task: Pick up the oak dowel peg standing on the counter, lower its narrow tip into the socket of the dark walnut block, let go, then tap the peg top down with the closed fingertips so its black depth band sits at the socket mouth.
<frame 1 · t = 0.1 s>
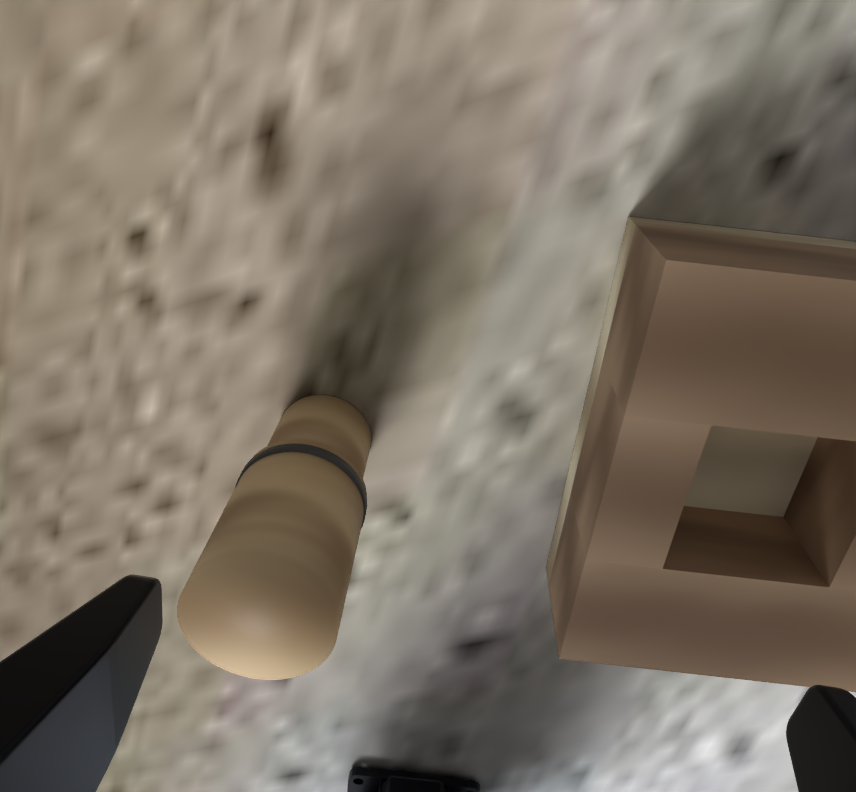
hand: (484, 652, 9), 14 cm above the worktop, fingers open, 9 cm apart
oak peg: (325, 436, 25), on the worktop
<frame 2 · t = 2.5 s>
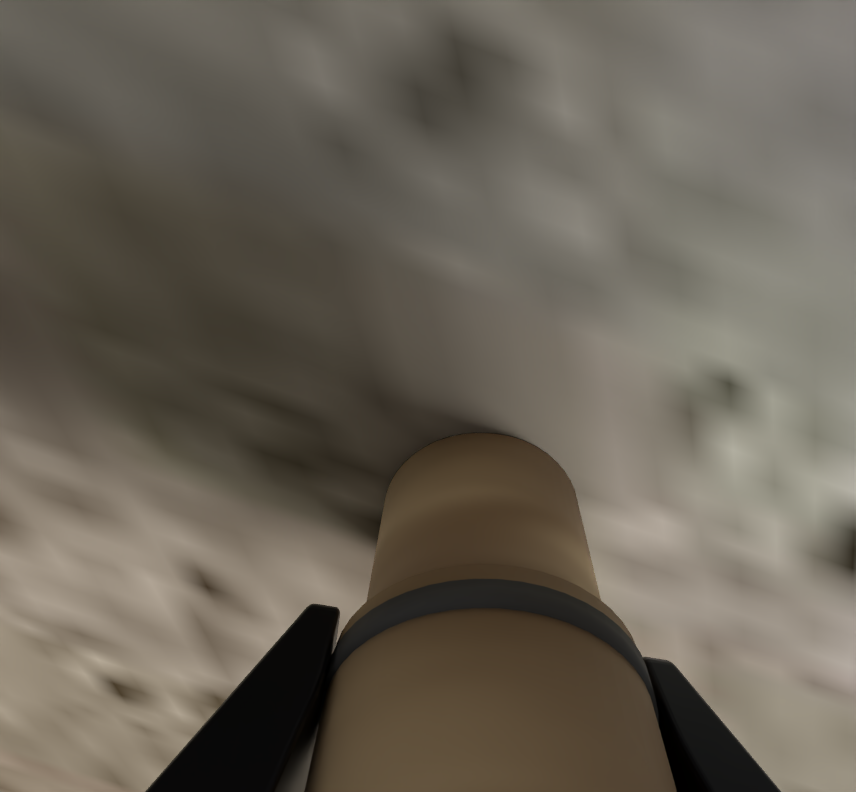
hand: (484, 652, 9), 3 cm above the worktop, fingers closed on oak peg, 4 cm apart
oak peg: (480, 515, 12), on the worktop, touching gripper
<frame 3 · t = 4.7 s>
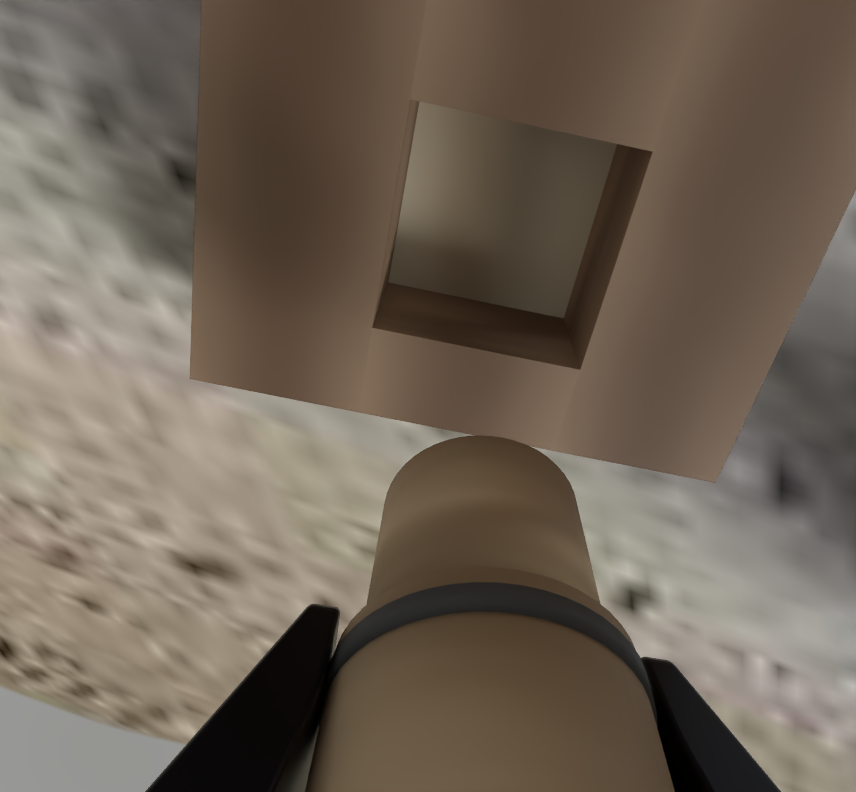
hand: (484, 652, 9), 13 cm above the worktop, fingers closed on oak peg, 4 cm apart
oak peg: (479, 518, 12), point 10 cm above the worktop, touching gripper
walnut socket block: (543, 5, 17), on the worktop
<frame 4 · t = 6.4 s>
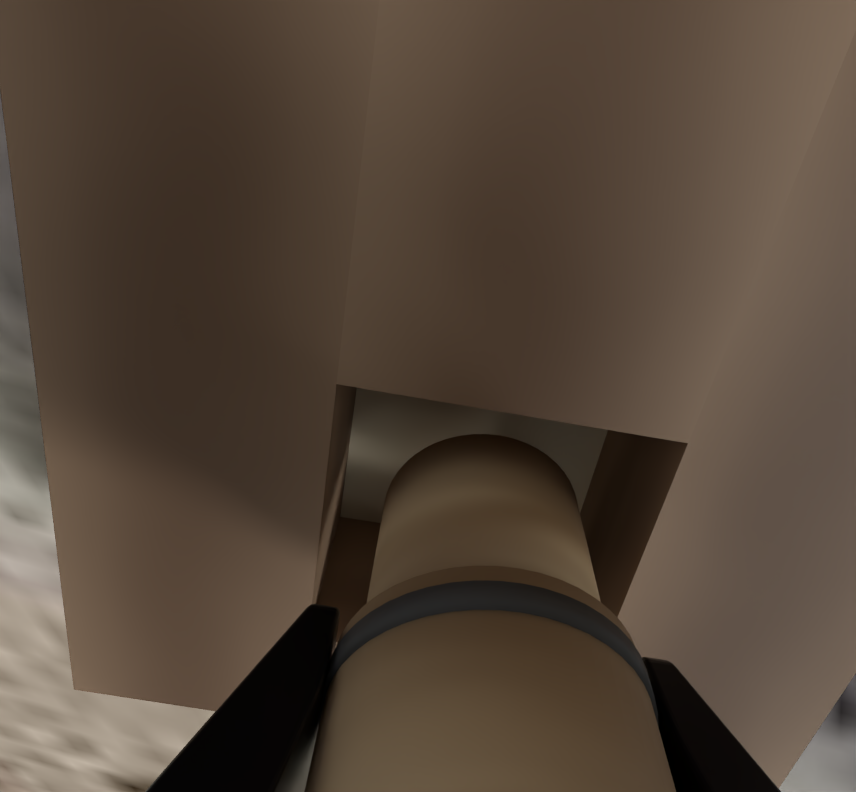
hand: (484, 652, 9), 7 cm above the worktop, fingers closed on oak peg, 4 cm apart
oak peg: (480, 516, 12), point 4 cm above the worktop, touching gripper
walnut socket block: (527, 186, 13), on the worktop
when the fingers open (5 cm above the worktop, at t = 7.5 s): oak peg drops 1 cm, resting on walnut socket block.
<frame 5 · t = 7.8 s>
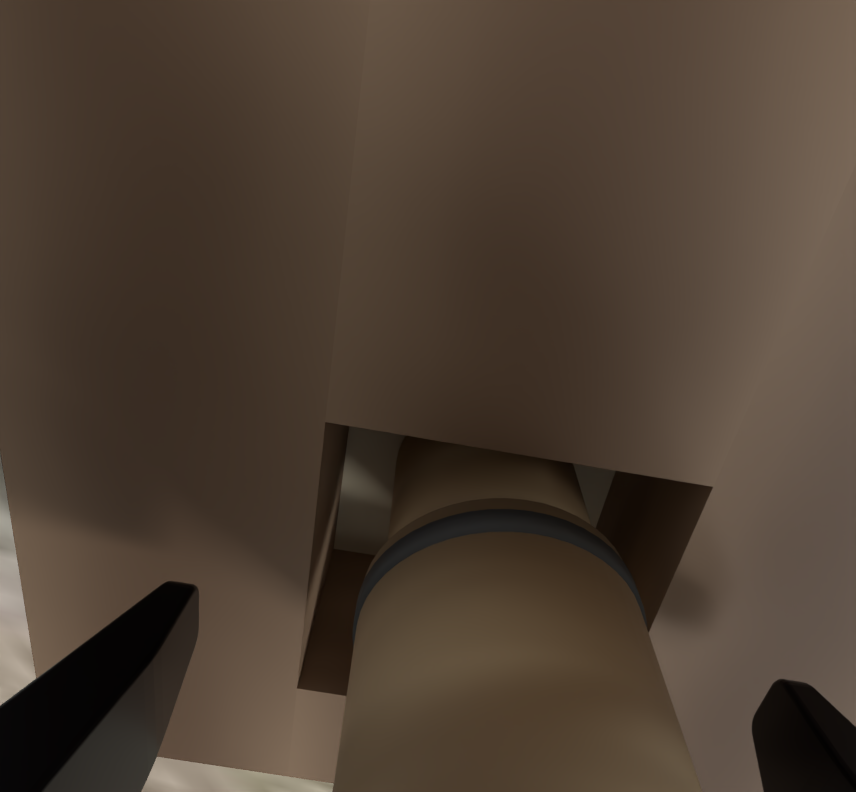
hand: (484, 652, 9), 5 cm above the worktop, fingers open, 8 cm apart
oak peg: (483, 472, 13), point 1 cm above the worktop, touching walnut socket block
walnut socket block: (534, 199, 12), on the worktop
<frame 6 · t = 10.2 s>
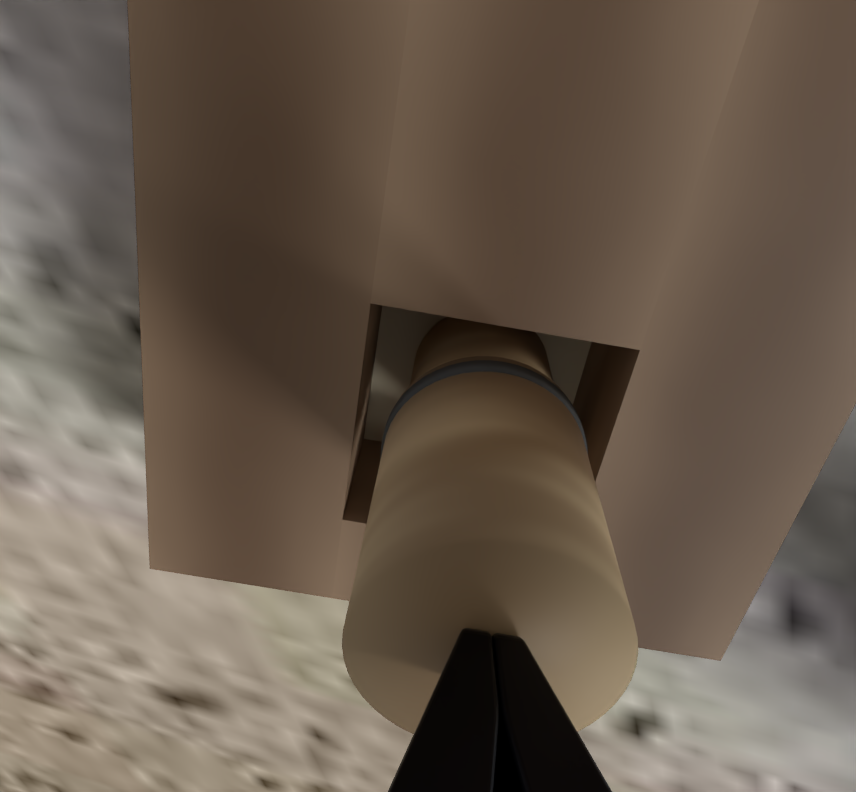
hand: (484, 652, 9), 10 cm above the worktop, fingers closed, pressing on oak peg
oak peg: (480, 371, 17), point 1 cm above the worktop, touching gripper, walnut socket block
walnut socket block: (519, 158, 16), on the worktop
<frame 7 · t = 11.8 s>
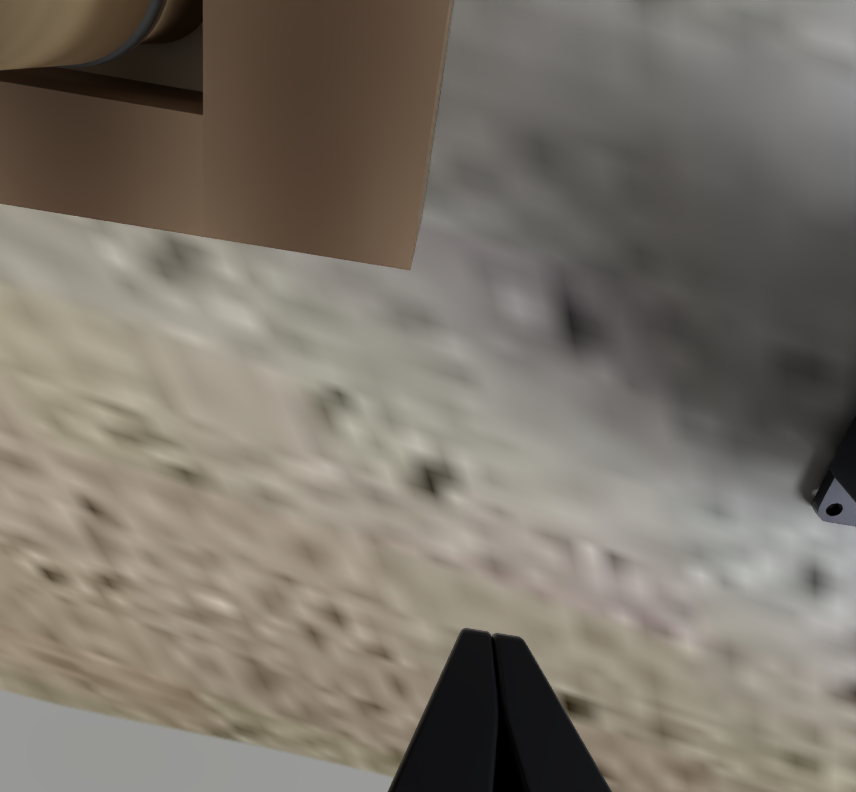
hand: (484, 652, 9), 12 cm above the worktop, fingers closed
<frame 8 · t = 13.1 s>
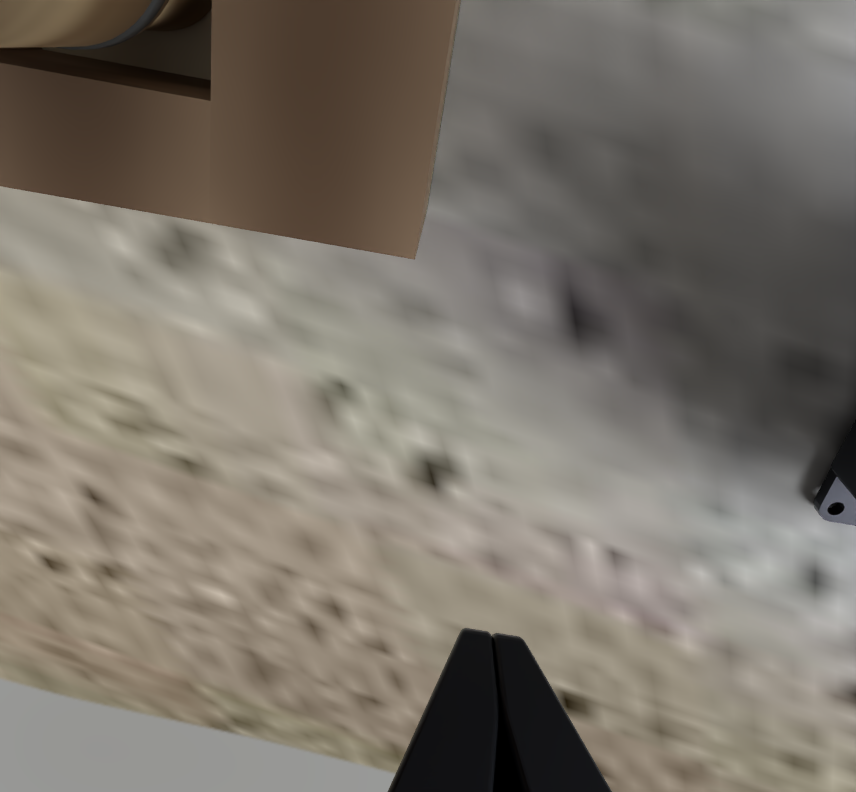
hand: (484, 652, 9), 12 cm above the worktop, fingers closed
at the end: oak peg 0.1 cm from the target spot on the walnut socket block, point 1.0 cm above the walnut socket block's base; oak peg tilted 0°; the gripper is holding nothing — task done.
